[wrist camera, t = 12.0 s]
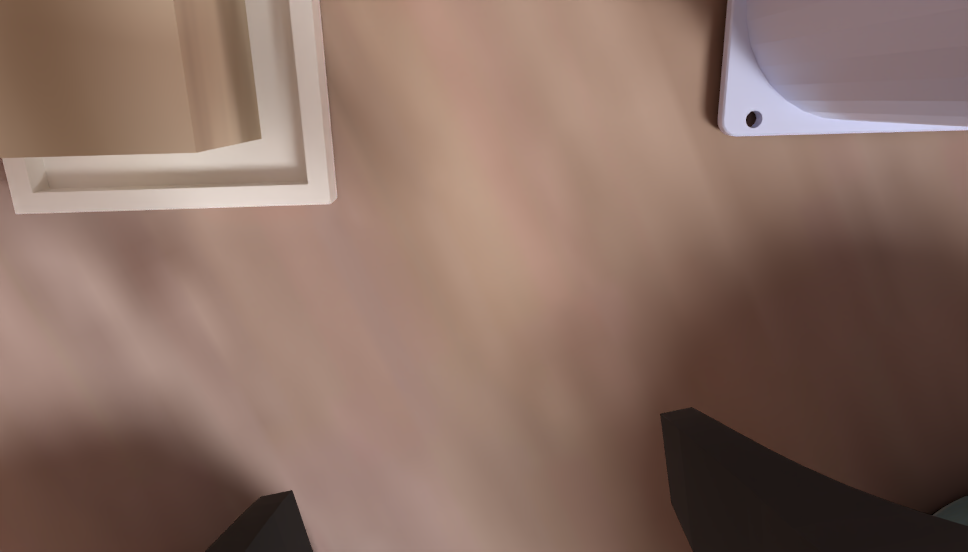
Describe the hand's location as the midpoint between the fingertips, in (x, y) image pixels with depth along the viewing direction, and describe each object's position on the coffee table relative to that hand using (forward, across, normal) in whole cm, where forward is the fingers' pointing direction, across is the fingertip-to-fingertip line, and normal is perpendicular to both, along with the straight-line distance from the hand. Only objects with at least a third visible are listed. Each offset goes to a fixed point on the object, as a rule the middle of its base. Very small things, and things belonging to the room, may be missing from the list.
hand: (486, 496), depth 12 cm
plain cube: (+9, +7, -10) cm, 15 cm away
